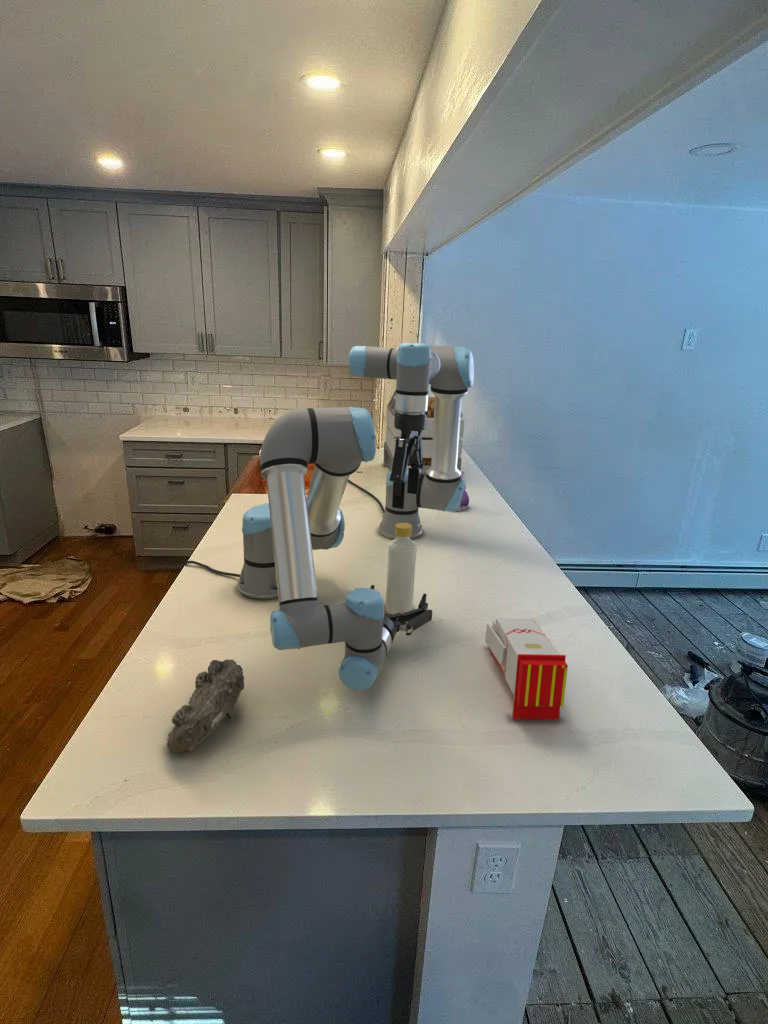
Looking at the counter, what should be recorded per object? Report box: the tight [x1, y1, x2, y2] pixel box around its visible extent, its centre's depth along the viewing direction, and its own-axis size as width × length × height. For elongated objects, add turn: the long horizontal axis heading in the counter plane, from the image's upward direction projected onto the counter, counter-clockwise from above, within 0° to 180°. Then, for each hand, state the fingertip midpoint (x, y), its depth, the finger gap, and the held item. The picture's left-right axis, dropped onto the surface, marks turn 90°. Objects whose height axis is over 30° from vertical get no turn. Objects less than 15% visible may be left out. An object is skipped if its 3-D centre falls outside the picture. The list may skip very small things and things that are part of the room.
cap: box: [395, 523, 412, 537], centre depth 142 cm, size 4×4×2 cm
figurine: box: [455, 470, 470, 512], centre depth 226 cm, size 9×10×15 cm
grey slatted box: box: [383, 389, 465, 472], centre depth 268 cm, size 34×33×41 cm
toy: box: [484, 617, 569, 720], centre depth 122 cm, size 12×13×30 cm
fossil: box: [166, 658, 245, 754], centre depth 106 cm, size 22×10×15 cm
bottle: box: [385, 536, 418, 614], centre depth 146 cm, size 7×7×23 cm
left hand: (398, 594), depth 144 cm, fingers open, 13 cm apart
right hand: (405, 500), depth 140 cm, fingers open, 12 cm apart
